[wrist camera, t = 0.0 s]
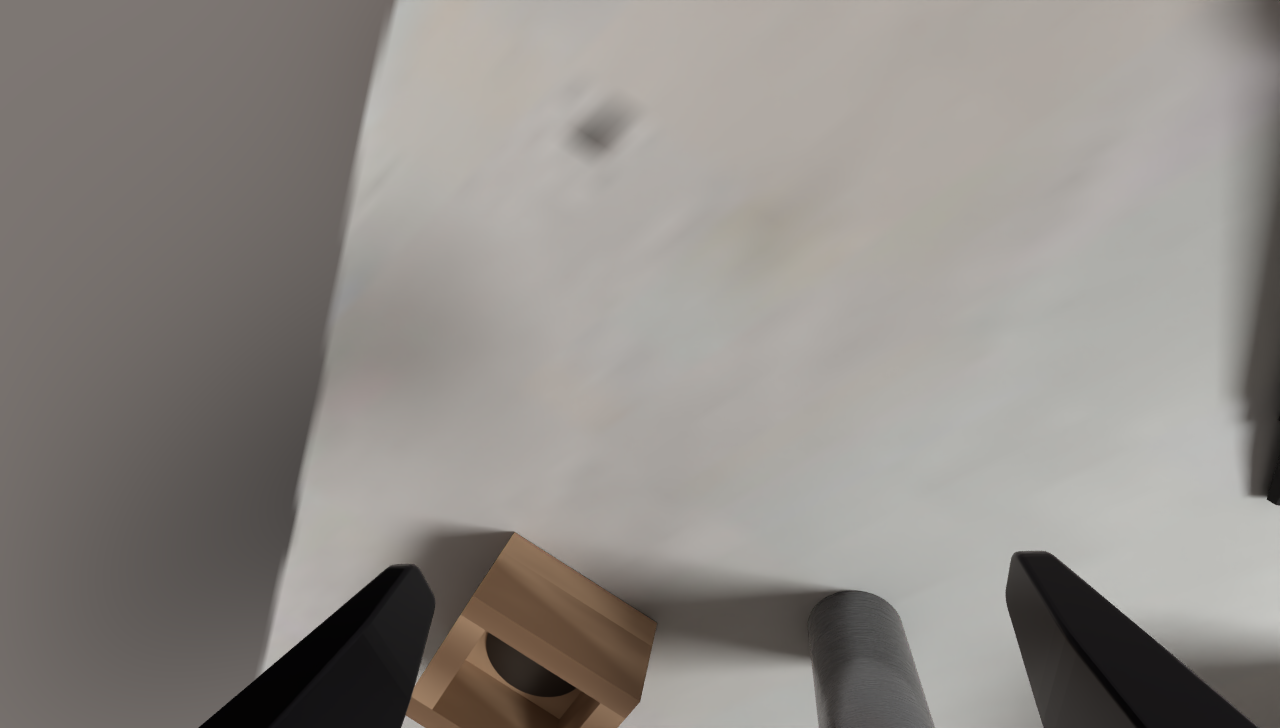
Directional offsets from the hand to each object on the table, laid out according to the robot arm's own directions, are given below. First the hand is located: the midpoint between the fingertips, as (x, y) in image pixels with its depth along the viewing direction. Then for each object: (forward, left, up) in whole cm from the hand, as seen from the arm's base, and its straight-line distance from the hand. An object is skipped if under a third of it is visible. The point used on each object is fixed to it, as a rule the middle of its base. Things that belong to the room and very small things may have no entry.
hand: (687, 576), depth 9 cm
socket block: (-18, -1, -15) cm, 24 cm away
